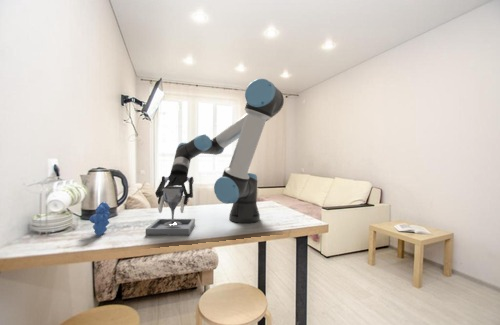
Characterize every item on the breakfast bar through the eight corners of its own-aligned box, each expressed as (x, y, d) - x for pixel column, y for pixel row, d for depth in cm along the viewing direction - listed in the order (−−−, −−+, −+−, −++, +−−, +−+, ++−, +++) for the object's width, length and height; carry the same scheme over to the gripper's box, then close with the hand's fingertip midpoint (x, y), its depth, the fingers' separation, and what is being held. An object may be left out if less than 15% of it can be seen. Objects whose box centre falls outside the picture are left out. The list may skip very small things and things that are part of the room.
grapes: (94, 229, 91) (95, 200, 91) (113, 228, 93) (114, 199, 93) (81, 239, 80) (82, 205, 80) (103, 238, 82) (104, 205, 82)
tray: (194, 224, 102) (194, 218, 102) (188, 235, 87) (188, 228, 87) (158, 224, 100) (158, 218, 100) (145, 235, 85) (145, 229, 85)
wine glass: (176, 227, 89) (177, 189, 89) (158, 225, 90) (158, 188, 90) (186, 221, 97) (186, 186, 97) (169, 220, 98) (169, 186, 98)
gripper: (203, 174, 110) (197, 216, 94) (159, 173, 108) (146, 215, 92) (202, 163, 104) (196, 205, 88) (155, 162, 102) (141, 205, 87)
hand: (170, 210), depth 90 cm, fingers closed on wine glass, 8 cm apart
